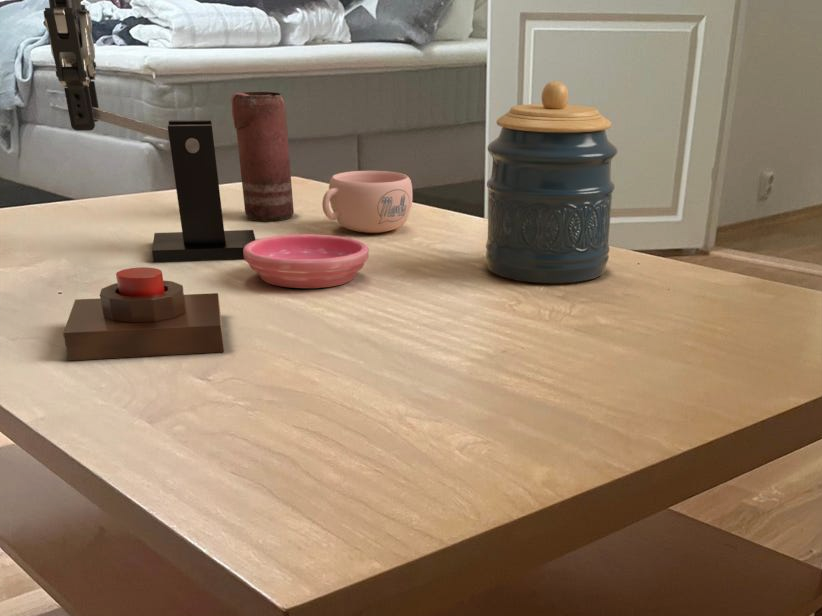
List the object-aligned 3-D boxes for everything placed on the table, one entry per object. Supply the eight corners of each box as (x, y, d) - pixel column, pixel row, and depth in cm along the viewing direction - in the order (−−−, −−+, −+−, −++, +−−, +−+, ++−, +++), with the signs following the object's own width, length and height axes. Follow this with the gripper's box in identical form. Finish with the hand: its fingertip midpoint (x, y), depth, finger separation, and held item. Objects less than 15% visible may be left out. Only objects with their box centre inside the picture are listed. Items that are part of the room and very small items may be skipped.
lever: (69, 122, 100) (72, 96, 99) (74, 116, 104) (76, 91, 103) (204, 161, 105) (208, 136, 103) (203, 154, 109) (207, 130, 108)
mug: (380, 217, 128) (378, 167, 125) (429, 230, 122) (429, 178, 119) (301, 230, 122) (297, 177, 118) (349, 244, 115) (346, 188, 112)
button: (118, 301, 81) (114, 278, 80) (120, 289, 84) (117, 268, 83) (164, 299, 81) (161, 277, 80) (165, 287, 84) (162, 266, 83)
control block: (68, 360, 79) (57, 309, 77) (80, 325, 87) (70, 277, 85) (224, 352, 82) (217, 302, 79) (221, 318, 90) (215, 271, 88)
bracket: (153, 262, 107) (132, 128, 100) (156, 244, 114) (136, 118, 107) (258, 258, 109) (245, 127, 102) (254, 240, 116) (241, 117, 109)
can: (237, 214, 129) (224, 91, 121) (285, 210, 131) (275, 89, 124) (251, 223, 124) (238, 96, 117) (300, 219, 127) (290, 94, 119)
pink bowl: (323, 258, 110) (321, 227, 108) (394, 280, 102) (393, 247, 100) (223, 275, 102) (219, 243, 101) (290, 301, 95) (287, 266, 93)
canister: (576, 253, 114) (588, 75, 104) (629, 280, 103) (647, 86, 94) (468, 260, 110) (470, 76, 100) (511, 289, 99) (518, 88, 90)
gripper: (19, -72, 99) (55, 118, 108) (-4, -78, 87) (39, 135, 96) (99, -69, 100) (128, 117, 109) (87, -75, 88) (121, 134, 98)
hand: (86, 125), depth 103 cm, fingers open, 6 cm apart
